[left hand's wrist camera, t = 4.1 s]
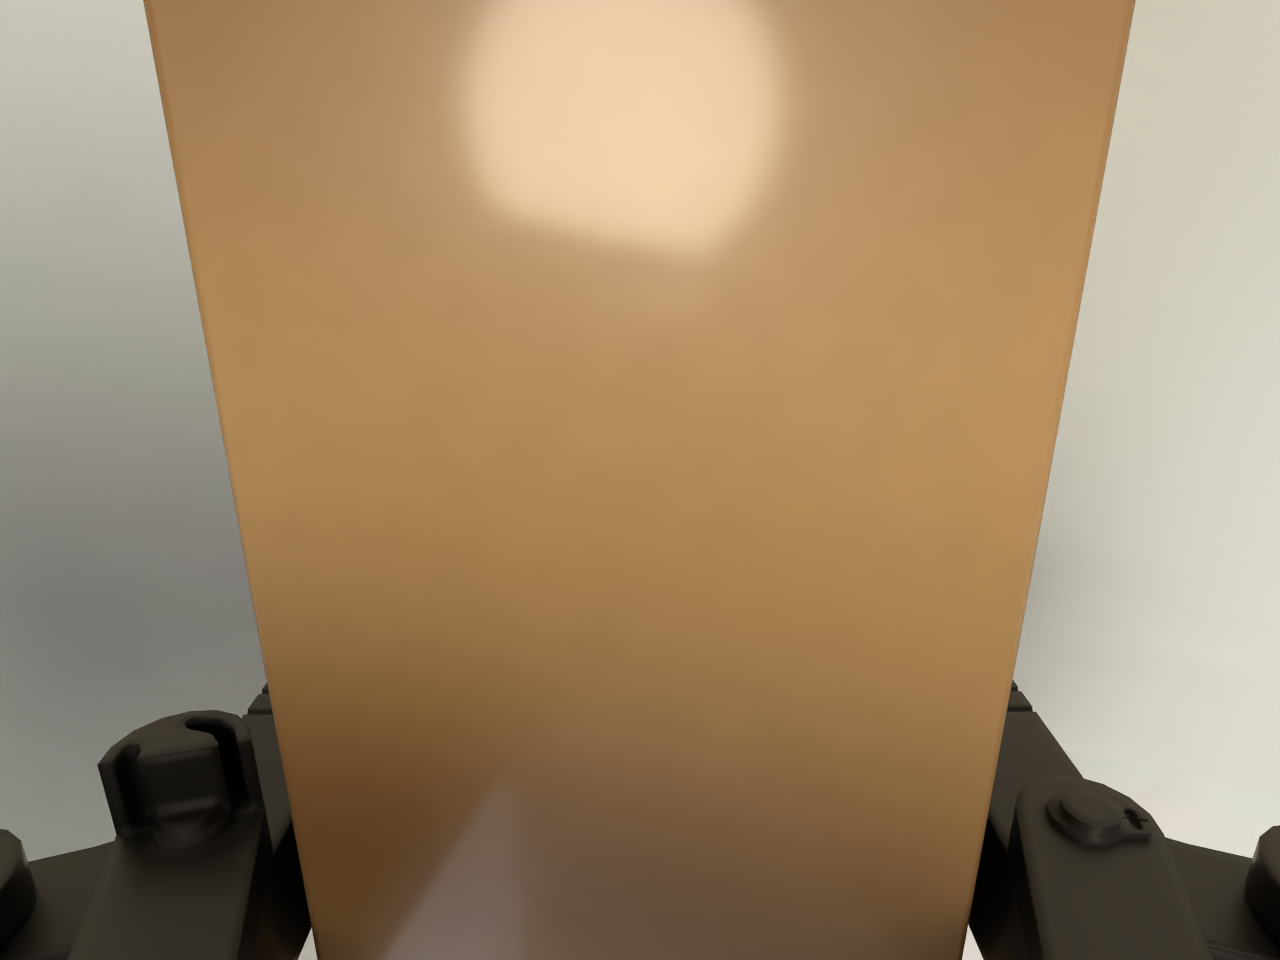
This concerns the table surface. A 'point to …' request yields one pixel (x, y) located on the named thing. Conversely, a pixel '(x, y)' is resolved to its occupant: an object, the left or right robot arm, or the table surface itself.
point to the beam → (639, 445)
